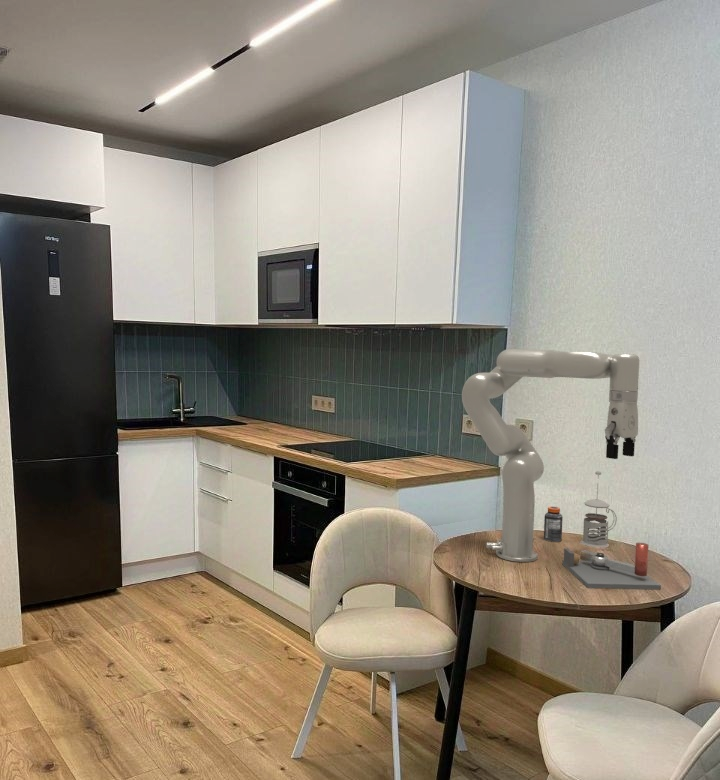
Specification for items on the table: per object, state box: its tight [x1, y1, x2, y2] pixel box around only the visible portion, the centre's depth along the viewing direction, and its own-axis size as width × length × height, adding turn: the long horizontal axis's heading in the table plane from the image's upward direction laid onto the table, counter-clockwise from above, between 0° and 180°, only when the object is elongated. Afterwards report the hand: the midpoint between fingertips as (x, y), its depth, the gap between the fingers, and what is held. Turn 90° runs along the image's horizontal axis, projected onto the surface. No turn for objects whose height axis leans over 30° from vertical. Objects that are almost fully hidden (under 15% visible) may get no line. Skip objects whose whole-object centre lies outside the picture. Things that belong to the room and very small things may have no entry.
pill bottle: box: [543, 506, 563, 543], centre depth 219 cm, size 6×6×11 cm
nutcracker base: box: [562, 547, 662, 590], centre depth 182 cm, size 20×20×5 cm
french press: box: [579, 470, 618, 548], centre depth 215 cm, size 10×12×25 cm
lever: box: [579, 542, 649, 576], centre depth 183 cm, size 4×19×9 cm, turn 41°
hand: (620, 457), depth 182 cm, fingers open, 9 cm apart
